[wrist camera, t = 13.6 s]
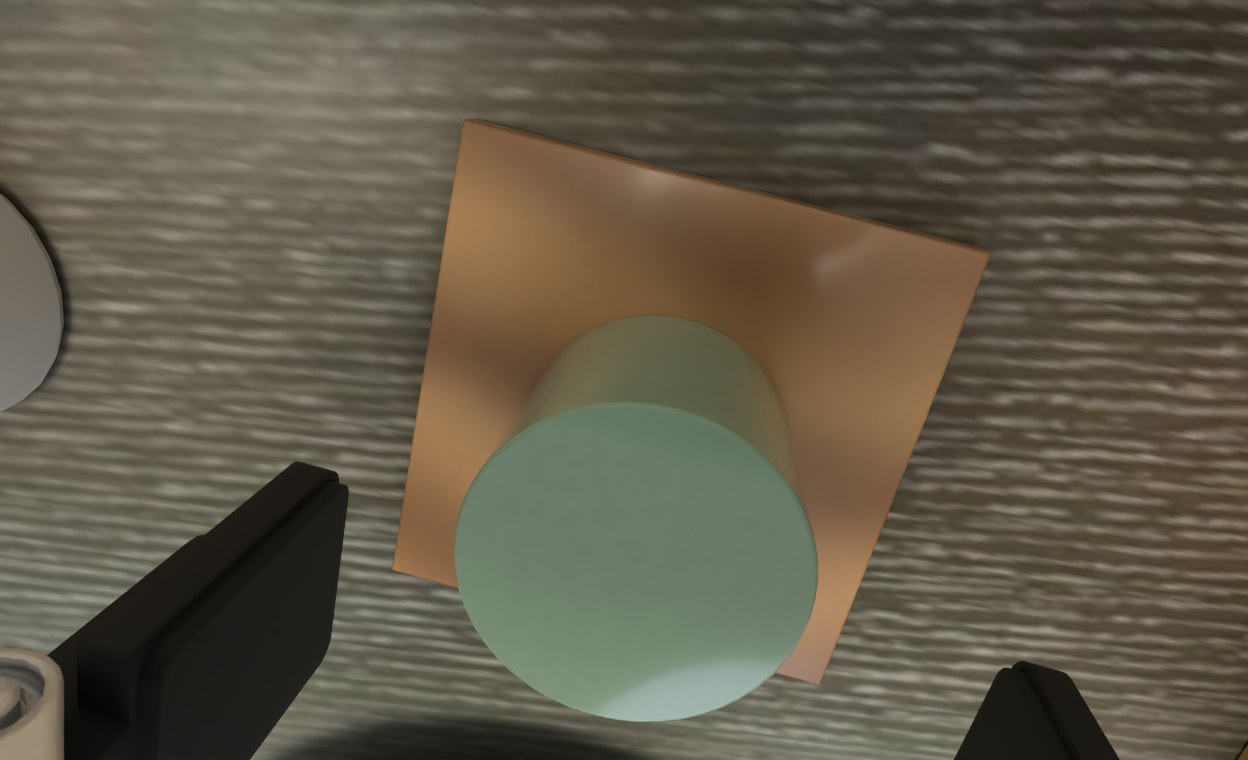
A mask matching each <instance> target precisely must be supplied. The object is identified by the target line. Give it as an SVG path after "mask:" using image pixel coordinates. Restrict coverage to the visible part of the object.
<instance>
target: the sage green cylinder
mask: <svg viewBox="0 0 1248 760" xmlns="http://www.w3.org/2000/svg"><path fill="white" fill-rule="evenodd" d="M454 563H455V572H456V577H457V582H458V588H459V591H460V594H461V597H462V600H463V603H464V606H465V609H466V611H467V613H468V615H469V617H470V619H471V621H472V623H473V625H474V627H475V629H476V630H477V632H478V633H479V635H480V636H481V638H482V639H483V641H484V643H485V644H486V645H487V646H488V648H489V649H490V650H491V651H492V652H493V654H494V655H495V656H496V657H497V658H498V660H499V661H500V662H501V663H503V664H504V665H505V666H506V667H507V668H508V669H509V670H510V671H511V672H512V673H513V674H514V675H515V676H517V677H518V678H519V679H521V680H522V681H524V682H525V683H526V684H528V685H529V686H530V687H532V688H533V689H535V690H537V691H538V692H540V693H542V694H543V695H545V696H547V697H548V698H550V699H552V700H554V701H557V702H559V703H561V704H563V705H565V706H568V707H570V708H572V709H575V710H578V711H582V712H585V713H588V714H591V715H594V716H599V717H604V718H608V719H613V720H621V721H631V722H663V721H673V720H681V719H685V718H690V717H694V716H699V715H702V714H705V713H708V712H711V711H714V710H717V709H720V708H722V707H724V706H726V705H729V704H731V703H733V702H735V701H737V700H739V699H741V698H742V697H744V696H745V695H747V694H748V693H750V692H752V691H753V690H755V689H756V688H758V687H759V686H760V685H761V684H763V683H764V682H765V681H766V680H767V679H768V678H770V677H771V676H772V675H773V674H774V673H775V672H776V671H777V670H778V669H779V668H780V666H781V665H782V664H783V663H784V662H785V661H786V660H787V659H788V657H789V656H790V654H791V653H792V651H793V650H794V648H795V647H796V645H797V644H798V642H799V641H800V639H801V637H802V635H803V633H804V631H805V628H806V626H807V624H808V622H809V620H810V616H811V613H812V610H813V606H814V603H815V599H816V591H817V584H818V556H817V550H816V544H815V539H814V534H813V529H812V525H811V521H810V517H809V513H808V509H807V504H806V500H805V496H804V492H803V488H802V484H801V480H800V475H799V471H798V467H797V463H796V459H795V455H794V450H793V446H792V442H791V438H790V434H789V430H788V425H787V421H786V417H785V413H784V410H783V407H782V404H781V401H780V398H779V395H778V393H777V391H776V389H775V387H774V385H773V383H772V381H771V380H770V378H769V377H768V375H767V374H766V372H765V371H764V369H763V368H762V367H761V365H760V364H759V363H758V362H757V361H756V360H755V359H754V358H753V357H752V355H751V354H750V353H748V352H747V351H746V350H745V349H744V348H742V347H741V346H740V345H739V344H738V343H737V342H735V341H733V340H732V339H730V338H729V337H727V336H726V335H724V334H723V333H721V332H719V331H716V330H714V329H712V328H710V327H708V326H706V325H703V324H700V323H697V322H694V321H691V320H687V319H682V318H677V317H672V316H657V315H648V316H634V317H629V318H624V319H619V320H616V321H613V322H610V323H607V324H604V325H601V326H599V327H597V328H595V329H593V330H591V331H589V332H587V333H585V334H583V335H582V336H580V337H579V338H577V339H576V340H574V341H573V342H571V343H570V344H569V345H568V346H567V347H566V348H565V349H564V350H562V351H561V352H560V353H559V354H558V355H557V357H556V358H555V359H554V360H553V361H552V362H551V364H550V365H549V366H548V368H547V369H546V371H545V372H544V374H543V375H542V377H541V378H540V380H539V381H538V383H537V384H536V386H535V387H534V389H533V390H532V392H531V393H530V395H529V396H528V398H527V399H526V401H525V402H524V404H523V405H522V407H521V408H520V410H519V411H518V413H517V415H516V416H515V418H514V419H513V421H512V422H511V424H510V425H509V427H508V428H507V430H506V431H505V433H504V434H503V436H502V437H501V439H500V440H499V442H498V443H497V445H496V446H495V448H494V449H493V451H492V452H491V454H490V455H489V457H488V459H487V460H486V462H485V463H484V465H483V466H482V468H481V469H480V471H479V472H478V474H477V476H476V477H475V479H474V480H473V482H472V484H471V485H470V487H469V489H468V491H467V494H466V496H465V498H464V501H463V503H462V505H461V509H460V513H459V516H458V520H457V524H456V531H455V540H454Z"/></svg>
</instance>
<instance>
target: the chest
mask: <svg viewBox="0 0 1248 760" xmlns="http://www.w3.org/2000/svg"><path fill="white" fill-rule="evenodd" d="M1238 760H1248V745H1247V746H1246V748H1245V749H1244V751H1243V752H1242V754H1241V755H1240V757H1239V758H1238Z"/></svg>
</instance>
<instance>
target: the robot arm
mask: <svg viewBox="0 0 1248 760" xmlns="http://www.w3.org/2000/svg"><path fill="white" fill-rule="evenodd" d="M348 496H349V490H348V487H347V486H346V485H343V484H339V477H338V474H337V473H336V472H335V471H331V470H328V469H324V468H320V467H317V466H313V465H309V464H306V463H302V462H295V463H293V464H291V465H290V466H289V467H287V468H286V469H285V470H284V471H283V472H281V473H280V474H279V475H278V476H276V477H275V478H274V479H273V480H272V481H270V482H269V483H268V484H267V485H265V486H264V487H263V488H262V489H261V490H259V491H258V492H257V493H256V494H254V495H253V496H252V497H251V498H250V499H248V500H247V501H246V502H245V503H243V504H242V505H241V506H240V507H238V508H237V509H236V510H235V511H234V512H232V513H231V514H230V515H229V516H227V517H226V518H225V519H224V520H223V521H221V522H220V523H219V524H218V525H216V526H215V527H214V528H213V529H212V530H210V531H209V532H208V533H207V534H205V535H200V536H197V537H195V538H194V539H192V540H190V541H189V542H188V543H186V544H185V545H184V546H183V547H181V548H180V549H179V550H178V551H176V552H175V553H174V554H173V555H171V556H170V557H169V558H168V559H166V560H165V561H164V562H163V563H161V564H160V565H159V566H158V567H156V568H155V569H154V570H153V571H151V572H150V573H149V574H148V575H147V576H145V577H144V578H143V579H142V580H140V581H139V582H138V583H137V584H135V585H134V586H133V587H132V588H130V589H129V590H128V591H127V592H125V593H124V594H123V595H122V596H120V597H119V598H118V599H117V600H115V601H114V602H113V603H112V604H110V605H109V606H108V607H107V608H106V609H104V610H103V611H102V612H101V613H99V614H98V615H97V616H96V617H94V618H93V619H92V620H91V621H89V622H88V623H87V624H86V625H84V626H83V627H82V628H81V629H79V630H78V631H77V632H76V633H74V634H73V635H72V636H71V637H69V638H68V639H67V640H66V641H64V642H63V643H62V644H61V645H60V646H58V647H57V648H56V649H55V650H53V651H52V652H51V653H50V654H48V655H44V654H42V653H39V652H36V651H34V650H31V649H26V648H16V647H7V646H6V647H0V760H250V759H251V758H252V756H253V755H254V753H255V752H256V751H257V749H258V748H259V747H260V745H261V744H262V743H263V741H264V740H265V738H266V737H267V736H268V734H269V733H270V732H271V730H272V729H273V728H274V726H275V725H276V723H277V722H278V721H279V719H280V718H281V717H282V715H283V714H284V713H285V711H286V710H287V708H288V707H289V706H290V704H291V703H292V702H293V700H294V699H295V698H296V696H297V695H298V693H299V692H300V691H301V689H302V688H303V687H304V685H305V684H306V683H307V681H308V680H309V678H310V677H311V676H312V674H313V673H314V672H315V670H316V669H317V668H318V666H319V665H320V663H321V662H322V660H323V658H324V656H325V654H326V652H327V649H328V646H329V643H330V639H331V633H332V625H333V617H334V609H335V601H336V593H337V585H338V577H339V569H340V561H341V553H342V545H343V536H344V528H345V520H346V512H347V504H348ZM954 760H1119V758H1118V756H1117V755H1116V753H1115V751H1114V750H1113V748H1112V746H1111V745H1110V743H1109V741H1108V740H1107V738H1106V736H1105V735H1104V733H1103V731H1102V729H1101V728H1100V726H1099V724H1098V723H1097V721H1096V719H1095V718H1094V716H1093V714H1092V713H1091V711H1090V709H1089V708H1088V706H1087V704H1086V703H1085V701H1084V699H1083V698H1082V696H1081V694H1080V693H1079V691H1078V689H1077V688H1076V686H1075V684H1074V683H1073V681H1072V679H1071V678H1070V677H1069V676H1068V675H1067V674H1066V673H1064V672H1061V671H1058V670H1054V669H1050V668H1047V667H1043V666H1039V665H1036V664H1032V663H1029V662H1025V661H1020V662H1017V663H1016V664H1015V665H1013V667H1012V668H1011V669H1010V668H1003V669H1001V670H1000V671H999V672H998V674H997V675H996V677H995V679H994V681H993V683H992V685H991V687H990V689H989V691H988V693H987V695H986V697H985V699H984V701H983V703H982V705H981V707H980V709H979V711H978V713H977V715H976V717H975V719H974V721H973V723H972V725H971V727H970V729H969V731H968V733H967V735H966V737H965V739H964V741H963V743H962V745H961V747H960V749H959V751H958V753H957V755H956V757H955V759H954Z"/></svg>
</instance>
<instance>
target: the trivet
mask: <svg viewBox="0 0 1248 760" xmlns="http://www.w3.org/2000/svg"><path fill="white" fill-rule="evenodd" d="M990 257H991V253H989V252H988V251H986V250H984V249H982V248H980V247H978V246H975V245H971V244H967V243H963V242H959V241H955V240H951V239H947V238H943V237H939V236H935V235H931V234H928V233H924V232H920V231H916V230H912V229H908V228H904V227H900V226H896V225H892V224H888V223H884V222H880V221H876V220H872V219H868V218H864V217H860V216H857V215H853V214H849V213H845V212H841V211H837V210H833V209H829V208H825V207H821V206H817V205H813V204H809V203H805V202H801V201H797V200H793V199H790V198H786V197H782V196H778V195H774V194H770V193H766V192H762V191H758V190H754V189H750V188H746V187H742V186H738V185H734V184H730V183H726V182H722V181H719V180H715V179H711V178H707V177H703V176H699V175H695V174H691V173H687V172H683V171H679V170H675V169H671V168H667V167H663V166H659V165H655V164H652V163H648V162H644V161H640V160H636V159H632V158H628V157H624V156H620V155H616V154H612V153H608V152H604V151H600V150H596V149H592V148H588V147H584V146H581V145H577V144H573V143H569V142H565V141H561V140H557V139H553V138H549V137H545V136H541V135H537V134H533V133H529V132H525V131H521V130H517V129H514V128H510V127H506V126H502V125H498V124H494V123H490V122H486V121H482V120H478V119H469V120H464V121H463V125H462V131H461V137H460V144H459V150H458V156H457V163H456V169H455V175H454V182H453V188H452V194H451V200H450V207H449V213H448V219H447V226H446V232H445V238H444V245H443V251H442V257H441V264H440V270H439V276H438V283H437V289H436V295H435V302H434V308H433V314H432V321H431V327H430V333H429V340H428V346H427V352H426V359H425V365H424V371H423V378H422V384H421V390H420V397H419V403H418V409H417V416H416V422H415V428H414V434H413V441H412V447H411V453H410V460H409V466H408V472H407V479H406V485H405V491H404V498H403V504H402V510H401V517H400V523H399V529H398V536H397V542H396V548H395V555H394V561H393V570H395V571H399V572H402V573H406V574H410V575H414V576H417V577H421V578H425V579H428V580H432V581H436V582H440V583H443V584H447V585H451V586H454V587H458V582H457V577H456V572H455V563H454V540H455V531H456V524H457V520H458V516H459V513H460V509H461V505H462V503H463V501H464V498H465V496H466V494H467V491H468V489H469V487H470V485H471V484H472V482H473V480H474V479H475V477H476V476H477V474H478V472H479V471H480V469H481V468H482V466H483V465H484V463H485V462H486V460H487V459H488V457H489V455H490V454H491V452H492V451H493V449H494V448H495V446H496V445H497V443H498V442H499V440H500V439H501V437H502V436H503V434H504V433H505V431H506V430H507V428H508V427H509V425H510V424H511V422H512V421H513V419H514V418H515V416H516V415H517V413H518V411H519V410H520V408H521V407H522V405H523V404H524V402H525V401H526V399H527V398H528V396H529V395H530V393H531V392H532V390H533V389H534V387H535V386H536V384H537V383H538V381H539V380H540V378H541V377H542V375H543V374H544V372H545V371H546V369H547V368H548V366H549V365H550V364H551V362H552V361H553V360H554V359H555V358H556V357H557V355H558V354H559V353H560V352H561V351H562V350H564V349H565V348H566V347H567V346H568V345H569V344H570V343H571V342H573V341H574V340H576V339H577V338H579V337H580V336H582V335H583V334H585V333H587V332H589V331H591V330H593V329H595V328H597V327H599V326H601V325H604V324H607V323H610V322H613V321H616V320H619V319H624V318H629V317H634V316H648V315H657V316H672V317H677V318H682V319H687V320H691V321H694V322H697V323H700V324H703V325H706V326H708V327H710V328H712V329H714V330H716V331H719V332H721V333H723V334H724V335H726V336H727V337H729V338H730V339H732V340H733V341H735V342H737V343H738V344H739V345H740V346H741V347H742V348H744V349H745V350H746V351H747V352H748V353H750V354H751V355H752V357H753V358H754V359H755V360H756V361H757V362H758V363H759V364H760V365H761V367H762V368H763V369H764V371H765V372H766V374H767V375H768V377H769V378H770V380H771V381H772V383H773V385H774V387H775V389H776V391H777V393H778V395H779V398H780V401H781V404H782V407H783V410H784V413H785V417H786V421H787V425H788V430H789V434H790V438H791V442H792V446H793V450H794V455H795V459H796V463H797V467H798V471H799V475H800V480H801V484H802V488H803V492H804V496H805V500H806V504H807V509H808V513H809V517H810V521H811V525H812V529H813V534H814V539H815V544H816V550H817V556H818V584H817V591H816V599H815V603H814V606H813V610H812V613H811V616H810V620H809V622H808V624H807V626H806V628H805V631H804V633H803V635H802V637H801V639H800V641H799V642H798V644H797V645H796V647H795V648H794V650H793V651H792V653H791V654H790V656H789V657H788V659H787V660H786V661H785V662H784V663H783V664H782V665H781V666H780V668H779V669H778V670H777V671H776V672H775V673H778V674H781V675H785V676H789V677H792V678H796V679H800V680H803V681H807V682H811V683H815V684H820V683H821V681H822V678H823V676H824V673H825V671H826V668H827V666H828V663H829V661H830V658H831V656H832V653H833V651H834V648H835V646H836V643H837V641H838V638H839V636H840V633H841V630H842V628H843V625H844V623H845V620H846V618H847V615H848V613H849V610H850V608H851V605H852V603H853V600H854V598H855V595H856V593H857V590H858V588H859V585H860V583H861V580H862V578H863V575H864V573H865V570H866V568H867V565H868V563H869V560H870V558H871V555H872V553H873V550H874V548H875V545H876V543H877V540H878V538H879V535H880V533H881V530H882V528H883V525H884V523H885V520H886V518H887V515H888V513H889V510H890V508H891V505H892V502H893V500H894V497H895V495H896V492H897V490H898V487H899V485H900V482H901V480H902V477H903V475H904V472H905V470H906V467H907V465H908V462H909V460H910V457H911V455H912V452H913V450H914V447H915V445H916V442H917V440H918V437H919V435H920V432H921V430H922V427H923V425H924V422H925V420H926V417H927V415H928V412H929V410H930V407H931V405H932V402H933V400H934V397H935V395H936V392H937V390H938V387H939V385H940V382H941V380H942V377H943V374H944V372H945V369H946V367H947V364H948V362H949V359H950V357H951V354H952V352H953V349H954V347H955V344H956V342H957V339H958V337H959V334H960V332H961V329H962V327H963V324H964V322H965V319H966V317H967V314H968V312H969V309H970V307H971V304H972V302H973V299H974V297H975V294H976V292H977V289H978V287H979V284H980V282H981V279H982V277H983V274H984V272H985V269H986V267H987V264H988V262H989V259H990Z"/></svg>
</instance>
